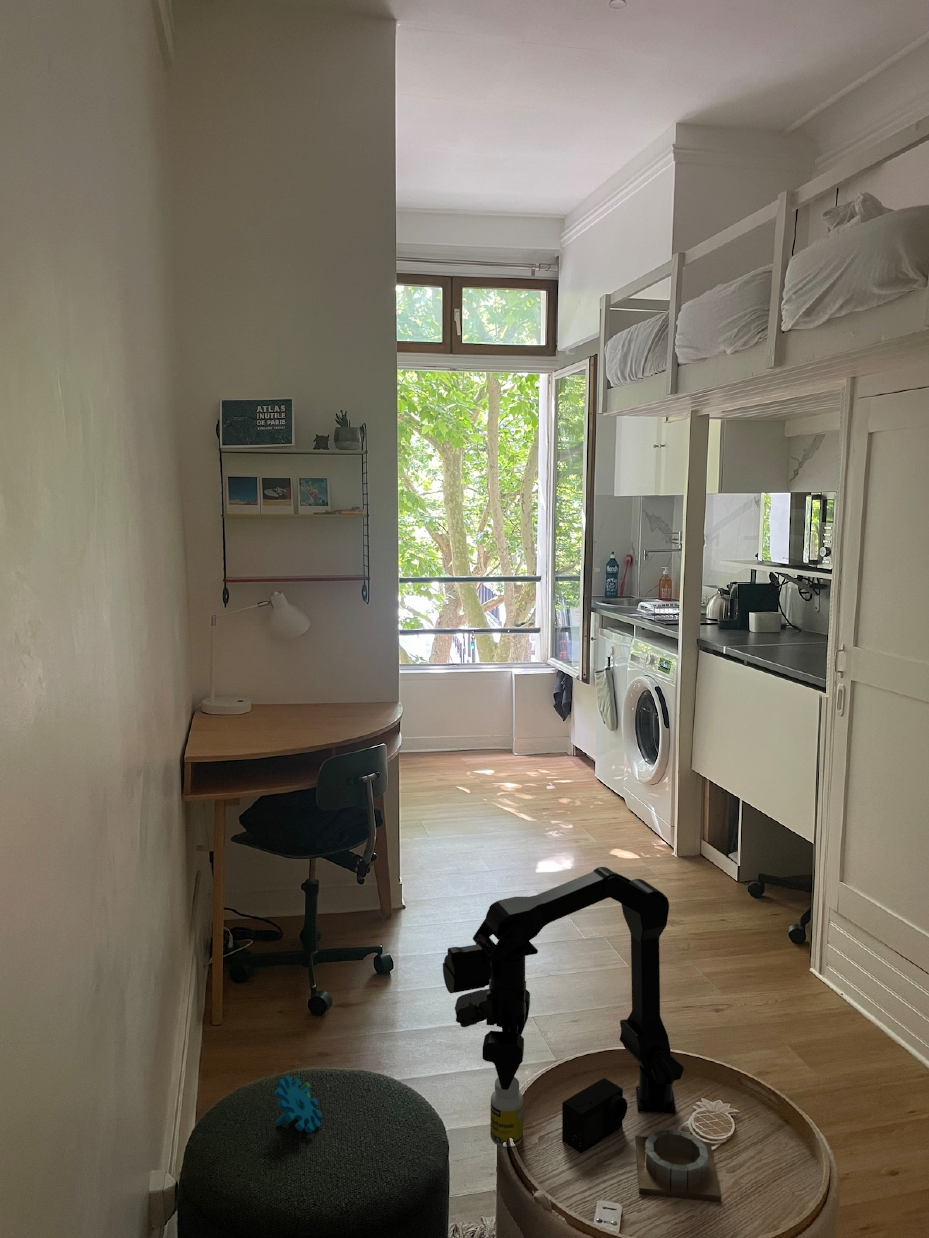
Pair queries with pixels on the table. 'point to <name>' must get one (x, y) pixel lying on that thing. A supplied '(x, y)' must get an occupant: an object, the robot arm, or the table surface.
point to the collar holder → (676, 1166)
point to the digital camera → (592, 1115)
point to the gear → (297, 1104)
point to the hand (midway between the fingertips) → (507, 1071)
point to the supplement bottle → (506, 1114)
